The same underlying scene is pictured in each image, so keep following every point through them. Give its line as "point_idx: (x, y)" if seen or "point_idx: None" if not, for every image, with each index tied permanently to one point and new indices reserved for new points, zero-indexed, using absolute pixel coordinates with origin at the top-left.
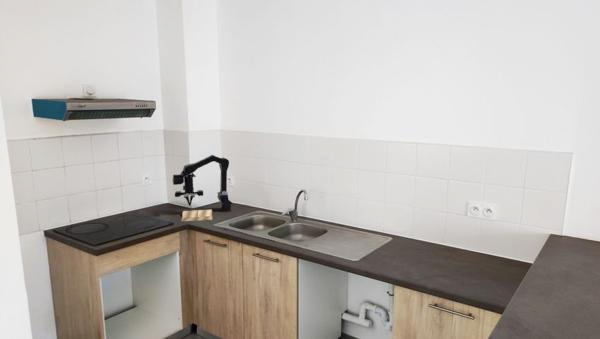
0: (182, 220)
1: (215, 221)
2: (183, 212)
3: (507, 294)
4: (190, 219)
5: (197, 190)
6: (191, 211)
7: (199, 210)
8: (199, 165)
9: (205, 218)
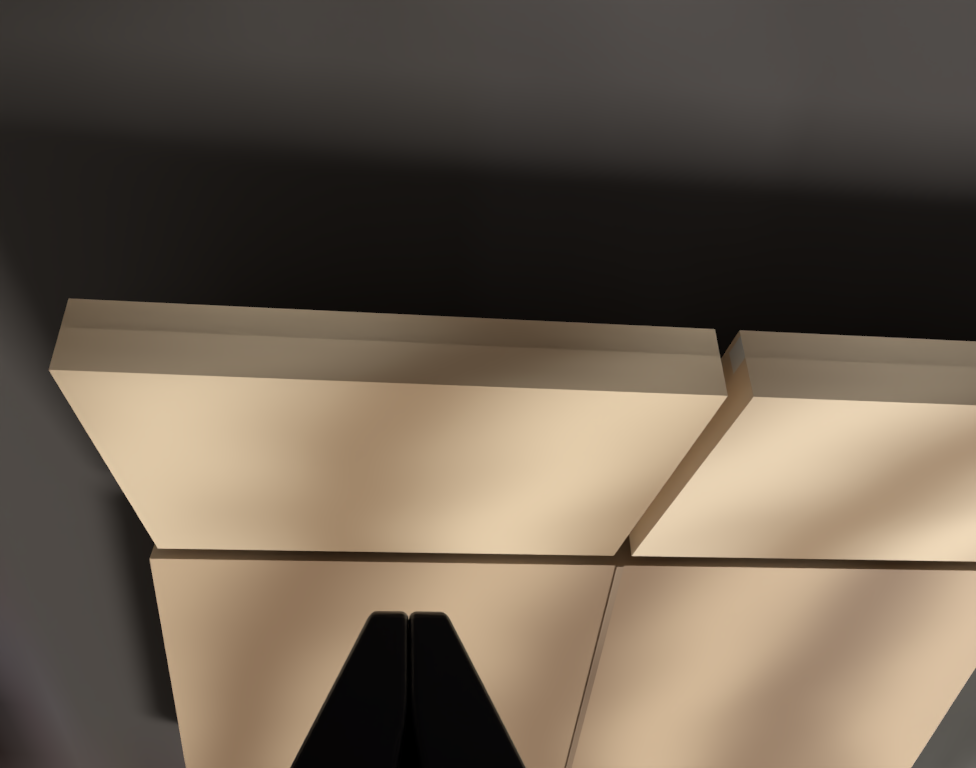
0: (210, 738)
1: (950, 725)
2: (116, 426)
3: None
4: None
5: None
6: (469, 417)
7: (822, 409)
8: None
9: (797, 695)
